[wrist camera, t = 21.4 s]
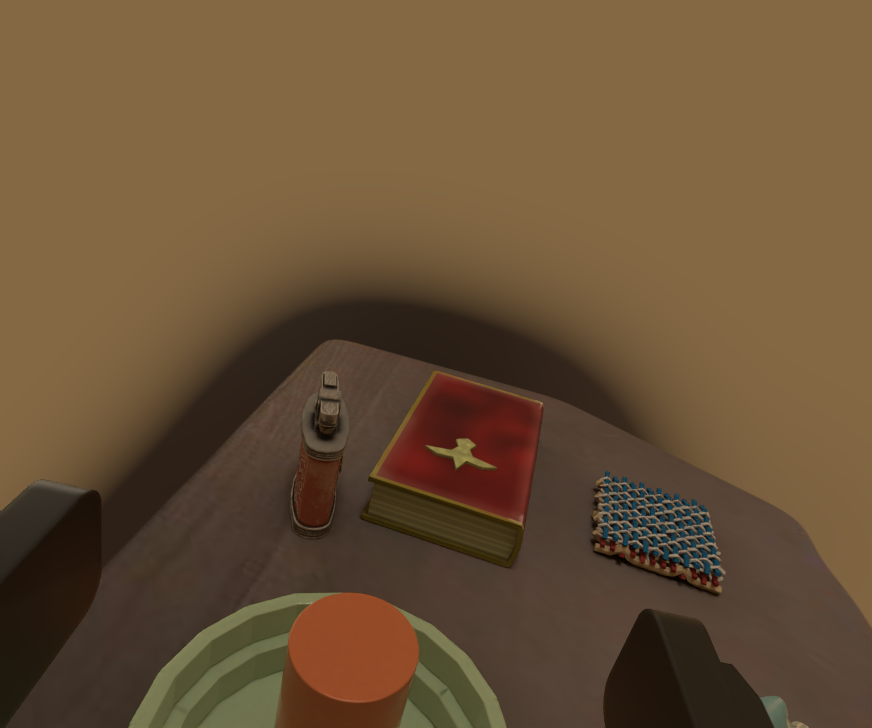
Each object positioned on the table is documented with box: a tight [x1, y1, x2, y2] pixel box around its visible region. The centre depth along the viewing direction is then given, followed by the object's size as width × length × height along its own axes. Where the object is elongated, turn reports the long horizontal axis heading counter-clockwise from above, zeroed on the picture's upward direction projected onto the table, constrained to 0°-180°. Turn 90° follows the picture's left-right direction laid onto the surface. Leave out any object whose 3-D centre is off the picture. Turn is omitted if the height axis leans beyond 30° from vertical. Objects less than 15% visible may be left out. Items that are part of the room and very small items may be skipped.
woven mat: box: [591, 471, 726, 594], centre depth 53 cm, size 10×11×2 cm
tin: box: [274, 593, 419, 728], centre depth 27 cm, size 5×5×10 cm
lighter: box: [290, 371, 350, 539], centre depth 46 cm, size 8×3×10 cm, turn 8°
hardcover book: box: [361, 370, 544, 568], centre depth 55 cm, size 12×21×4 cm, turn 167°
